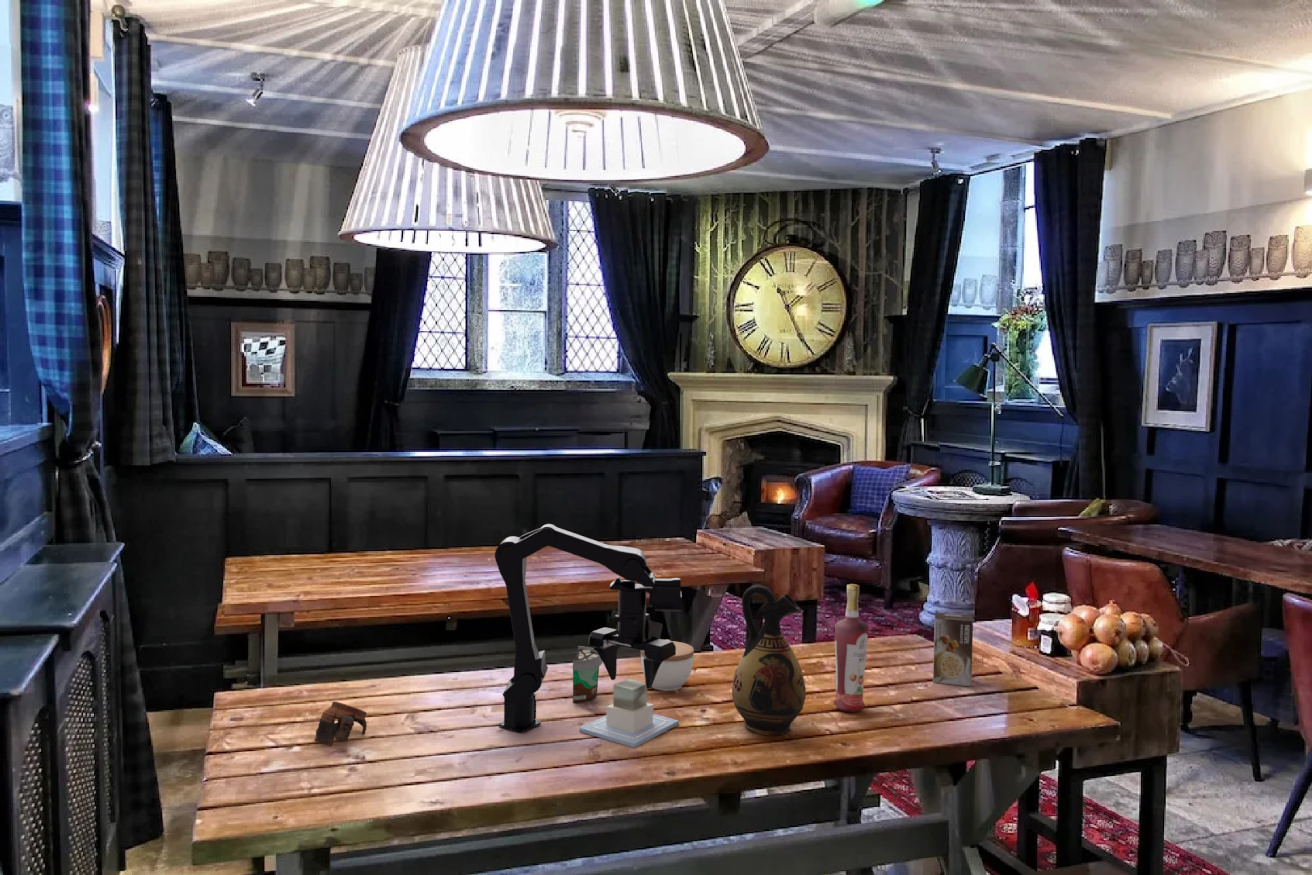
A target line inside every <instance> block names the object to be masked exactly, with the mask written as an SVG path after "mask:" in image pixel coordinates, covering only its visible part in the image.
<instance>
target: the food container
mask: <svg viewBox="0 0 1312 875" xmlns="http://www.w3.org/2000/svg"><path fill="white" fill-rule="evenodd" d="M602 664H603V661H602V660H601V658H600V656H599V654H598V653H597V651H596V650H594V647H592V646H591V647H589V646H583V645H582V646H581V645H577V654H576V655H575V659H574V660H572V703H573V704H582V703H583V704H584V703H588V702H592V701H594V700H595V699H597V697H598V688H599V687H598V686H599V685H598V684H599V676H600V666H601V665H602Z"/></svg>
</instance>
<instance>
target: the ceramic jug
mask: <svg viewBox="0 0 1312 875" xmlns="http://www.w3.org/2000/svg"><path fill="white" fill-rule="evenodd" d="M756 596H763V597H764V598H765V599H766V602H764V603H763V604H761V605H760V607H759V608H758V609H757V611H756V615H757V617H761V618H763V619H764V620H763V624H762V626H761V628H760V631H759V632H757V630H756V629H757V628H756V625H755V623H754V620H753V616H752V615H753V614H752V611H751V606H750V603H751V602H750V601H751V599H752V598H753V597H756ZM741 608H742V610H741V611H742V614H743V618H744V621H745V624H746V627H747V631H748V632H747V633H748V638H747V641H746V644H745V649H744V653H743V655H742V656H741V658H740V660H739V663H738V665H737V667H736V669H735V672H734V675H733V680H732V685H731V697H732V701H733V704H734V707H735V709H736V711H737V712H738V714H739V715H740V716H741V717H742V719H743V720H744V723H743V725H744V727H745V728H746V729H748V730H750V731H751V732H754V733H756V734H762V735H765V736H771V737H778V736H780V735H785V734H787V733H789V732H790V731H791V728H790V727H791V725H792V723H793V721H795V720H796V718H797V717H798V716H799V715H800V714H801V712H802V711H803V708H804V705H805V701H806V699H807V698H806V695H807V694H806V693H807V691H806V690H807V689H806V683H805V678H804V674H803V671H802V666H801V664H800V662H799V660H798V659H797V657H796V655H795V653H794V651H793V648H792V647H791V645H790V644H789V642H788V641H787V639H786V637H784V635H783V632H782V630H781V626H780V624H781V623H780V622H781V620H783V619H784V618H785V617H789V616H791V615H795V614H798V613H800V612H802V609H801V607H800V606H799V605H798V604H797V603H796V602H795V600H794V599H793V598H792V596H790V595H789V594H788V593H787V594H784V595H782V596H781V597H780V598H778V599H776V597H775V595H774V592H773V591H772V590H771V589H770V588H769V587H768V586H764V585H762V584H753V585H751V586H749V587H748V588H746V590H745V591H744V593H743V596H742V598H741Z"/></svg>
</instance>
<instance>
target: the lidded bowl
mask: <svg viewBox="0 0 1312 875" xmlns="http://www.w3.org/2000/svg"><path fill="white" fill-rule="evenodd" d="M667 640H668V641H671V639H667ZM672 641H673V640H672ZM673 643H674V644H675V646H676V655H674V656H671V657H670V658H668V659H666V660H664V661H663V662H662V663H661V665H660V667H659V669H658V671H657V674H656V676H655V679H654V682H653V684H652V687H651V688H653V689H655V690H658V691H664V692H670V691H672V692H673V691H678V690H680V689H681V688H682V685H684V684H685V683H686V682H687V681H688V680H689V677H690V676H691V674H692V670H693V664H694V654H695V649H694V647H693V646H692V645H691V644H688V643H685V642H682V641H681V642H679V641H673ZM639 651H640V663H641V664H640V665H641V670H642V674H643V676H644V677H645V671H644V661H643V659H645V658H647V657H646V656H645V654H644V651H643V650H639Z"/></svg>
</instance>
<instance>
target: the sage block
mask: <svg viewBox="0 0 1312 875" xmlns="http://www.w3.org/2000/svg"><path fill="white" fill-rule="evenodd" d="M612 693H613V698H612V700H613V703H612V704H613V706H615V707H618V708H622V709H626V710H630V711H634V710H637V709H639V708H641V707H643V706H645V705H647V703H648V689H647V687H646V682H642V681H638V680H634V679H630V678H627V679H624V680H622V681H620V682H618V683H615V684H613V692H612Z"/></svg>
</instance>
